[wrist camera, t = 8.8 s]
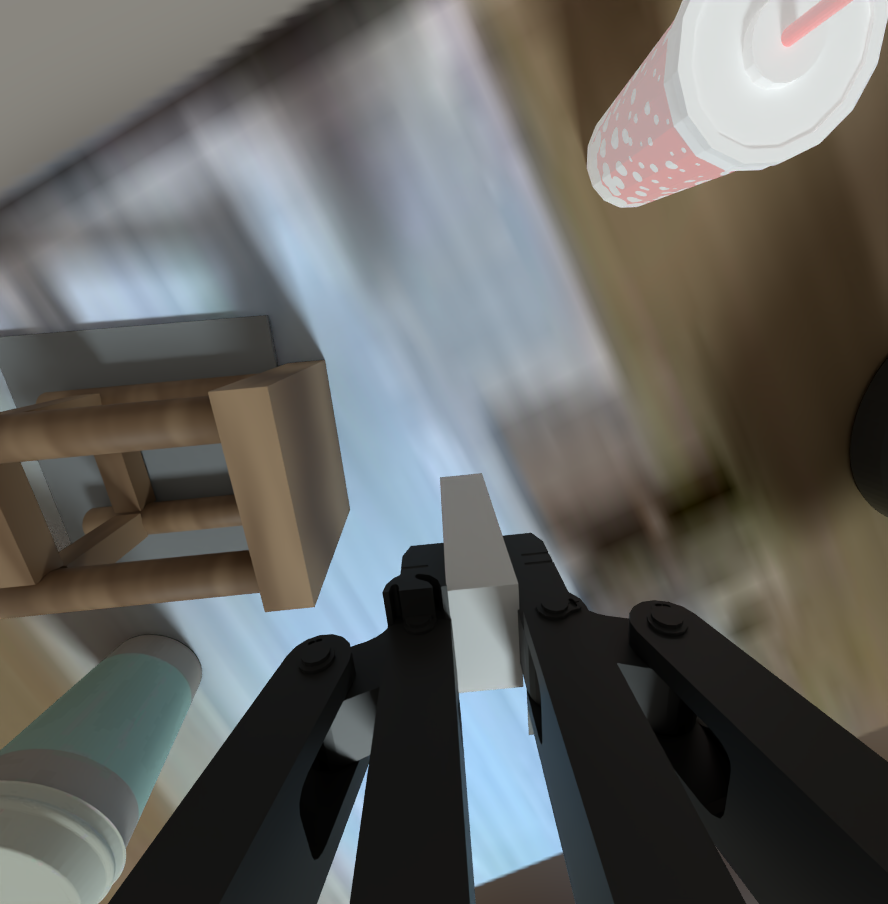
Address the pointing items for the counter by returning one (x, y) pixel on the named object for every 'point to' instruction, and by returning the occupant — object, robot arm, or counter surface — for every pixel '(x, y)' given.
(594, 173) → the beverage cup
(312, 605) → the stool
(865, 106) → the counter surface
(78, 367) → the mat
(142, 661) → the coffee cup
